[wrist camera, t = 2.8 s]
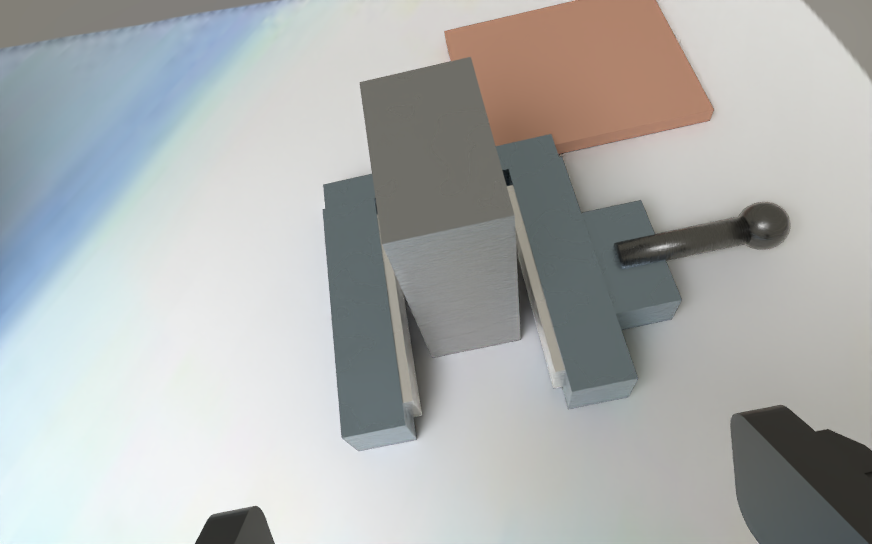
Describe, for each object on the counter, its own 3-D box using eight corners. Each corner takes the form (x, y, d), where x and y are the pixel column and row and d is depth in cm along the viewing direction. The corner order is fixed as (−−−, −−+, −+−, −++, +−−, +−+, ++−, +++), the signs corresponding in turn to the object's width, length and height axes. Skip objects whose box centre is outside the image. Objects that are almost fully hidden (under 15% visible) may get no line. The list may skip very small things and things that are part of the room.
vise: (358, 451, 25) (338, 435, 22) (335, 207, 31) (316, 172, 28) (827, 357, 24) (864, 328, 21) (707, 125, 30) (724, 80, 27)
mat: (478, 171, 31) (477, 162, 30) (445, 42, 35) (444, 31, 35) (709, 120, 30) (713, 109, 29) (644, -5, 35) (646, -17, 34)
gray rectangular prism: (432, 357, 26) (381, 243, 17) (410, 231, 30) (359, 82, 21) (520, 339, 26) (514, 215, 17) (489, 214, 29) (470, 56, 21)
